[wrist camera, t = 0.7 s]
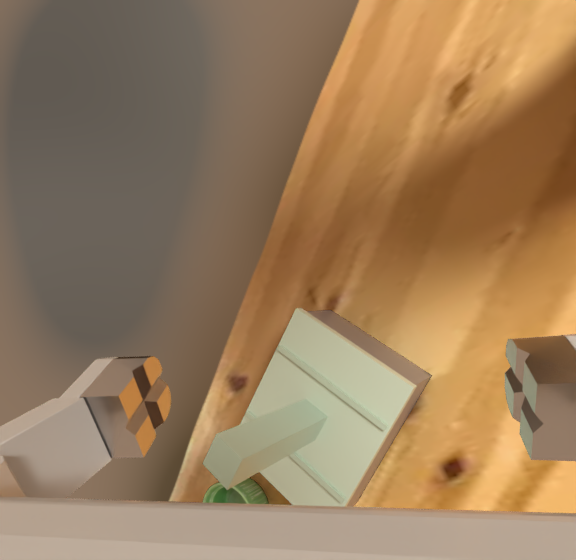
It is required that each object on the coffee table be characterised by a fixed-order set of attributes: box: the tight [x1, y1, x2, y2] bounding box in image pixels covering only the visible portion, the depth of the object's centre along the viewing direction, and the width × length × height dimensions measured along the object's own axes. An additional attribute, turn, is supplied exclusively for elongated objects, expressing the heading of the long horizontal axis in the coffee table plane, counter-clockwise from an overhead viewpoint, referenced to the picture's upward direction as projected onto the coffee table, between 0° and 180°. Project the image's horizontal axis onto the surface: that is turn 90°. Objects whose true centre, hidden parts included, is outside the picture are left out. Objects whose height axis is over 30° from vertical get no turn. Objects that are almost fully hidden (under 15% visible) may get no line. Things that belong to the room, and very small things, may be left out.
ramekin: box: [203, 478, 269, 504], centre depth 58 cm, size 9×9×4 cm
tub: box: [307, 310, 432, 507], centre depth 49 cm, size 18×14×7 cm
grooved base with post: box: [203, 308, 417, 507], centre depth 40 cm, size 19×15×15 cm
